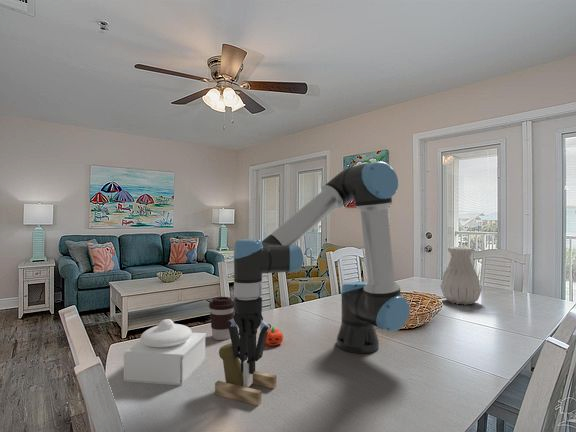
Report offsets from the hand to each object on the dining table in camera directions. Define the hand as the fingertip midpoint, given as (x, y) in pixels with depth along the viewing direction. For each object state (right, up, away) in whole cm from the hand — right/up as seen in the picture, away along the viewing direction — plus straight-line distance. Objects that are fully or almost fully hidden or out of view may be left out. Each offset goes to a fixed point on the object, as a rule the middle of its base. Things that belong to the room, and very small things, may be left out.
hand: (248, 384), depth 91 cm
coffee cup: (-15, -2, +41) cm, 43 cm away
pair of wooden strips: (-1, -2, +1) cm, 2 cm away
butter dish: (-26, -2, +13) cm, 29 cm away
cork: (-3, -1, +1) cm, 3 cm away
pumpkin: (+5, -2, +34) cm, 35 cm away
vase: (+105, -2, +95) cm, 141 cm away
